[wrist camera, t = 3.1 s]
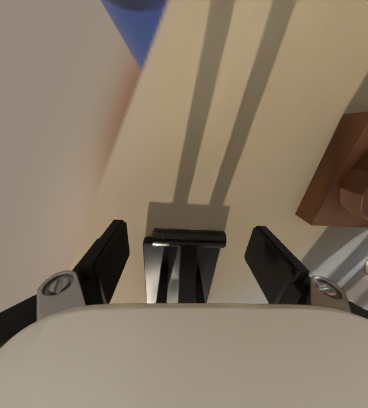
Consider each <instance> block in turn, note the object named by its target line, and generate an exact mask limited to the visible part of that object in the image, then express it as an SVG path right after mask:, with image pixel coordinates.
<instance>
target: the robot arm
mask: <svg viewBox="0 0 368 408" xmlns="http://www.w3.org/2000/svg"><path fill="white" fill-rule="evenodd" d="M129 252H130V251H129V242H128V234H127V225H126V222H124V221H123V220H113V222H112V223H111V224H110V226H109V227H108V228H107V229H106V231H105V232H104V233H103V235H102V236H101V237H100V238H98V239H97V240H96V241H95V243H94V244H93V245H92V246H91V248H90V249H89V250H88V251H87V253H86V254H85V255H84V256H83V258H82V259H81V260H80V261H79V263H78V264H77V265H76V266H75V268H74V269H73V270H72V271H62V272H59V273H56V274H54V275H52V276H51V277H49V278H48V279H46V280H45V281H44V282H43V283H42V284H41V285H40V287H39V288H38V291H37V294H36V295H35V296H32V297H30V298H28V299H26V300H24V301H23V302H20V303H18V304H16V305H15V306H13V307H11V308H9V309H7V310H5V311H3V312H1V313H0V408H368V311H367V310H365V309H363V308H361V307H359V306H357V305H355V304H353V303H351V302H350V301H348V299H347V296H346V294H345V293H344V291H343V290H342V289H341V288H340V287H339V286H337V285H336V284H335V283H333V282H332V281H330V280H328V279H326V278H324V277H321V276H312V277H311V278H310V276H309V275H308V274H309V272H310V271H309V270H308V269H307V268H306V267H305V266H304V265H303V264H302V263H301V262H300V261H299V260H298V259H297V258H296V257H295V256H294V255H293V254H292V253H291V252H290V251H289V250H288V249H287V248H286V247H285V246H284V245H283V244H282V243H281V242H280V240H279V239H278V238H277V237H276V236H275V235H274V234H273V233H272V232H271V231H270V230H269V229H268V228H267V227H266V226H256V227H255V228H254V229H253V231H252V234H251V237H250V240H249V243H248V246H247V249H246V252H245V260H246V262H247V264H248V266H249V267H250V269H251V271H252V273H253V275H254V277H255V278H256V280H257V282H258V284H259V286H260V288H261V289H262V291H263V293H264V295H265V297H266V299H267V300H268V302H269V304H215V303H124V304H109V303H110V300H111V298H112V296H113V293H114V291H115V288H116V286H117V284H118V281H119V279H120V276H121V274H122V271H123V269H124V267H125V264H126V262H127V259H128V257H129Z"/></svg>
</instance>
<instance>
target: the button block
mask: <svg viewBox="0 0 368 408" xmlns="http://www.w3.org/2000/svg"><path fill="white" fill-rule="evenodd" d="M296 215H297V216H298V217H300V218H301V219H303V220H304V221H306V222H307V223H309V224H310V225H319V226H343V227H367V228H368V112H361V113H352V114H344V115H343V117H342V119H341V121H340V123H339V125H338V127H337V129H336V131H335V133H334V135H333V137H332V140H331V142H330V144H329V146H328V148H327V150H326V152H325V154H324V156H323V158H322V160H321V162H320V165H319V167H318V169H317V171H316V173H315V175H314V177H313V179H312V181H311V183H310V185H309V187H308V190H307V192H306V194H305V196H304V198H303V200H302V202H301V204H300V206H299V208H298V210H297V213H296Z"/></svg>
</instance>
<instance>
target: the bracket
mask: <svg viewBox="0 0 368 408" xmlns="http://www.w3.org/2000/svg"><path fill="white" fill-rule="evenodd" d="M219 249H220V248H208V247H197V263H196V282H195V302H194V303H207V299H208V295H209V291H210V286H211V282H212V278H213V274H214V270H215V266H216V261H217V257H218V253H219ZM143 252H144V267H145V282H146V297H147V303H178V286H179V266H180V247H173V246H153V245H152V237H145V239H144V242H143Z"/></svg>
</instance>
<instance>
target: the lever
mask: <svg viewBox="0 0 368 408" xmlns="http://www.w3.org/2000/svg"><path fill="white" fill-rule="evenodd" d="M152 245H153V246H173V247H180V266H179V286H178V303H194V302H195V282H196V263H197V247H208V248H224V247H225V246H226V234H225V232H224V231H215V230H188V229H161V228H154V230H153V235H152Z"/></svg>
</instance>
